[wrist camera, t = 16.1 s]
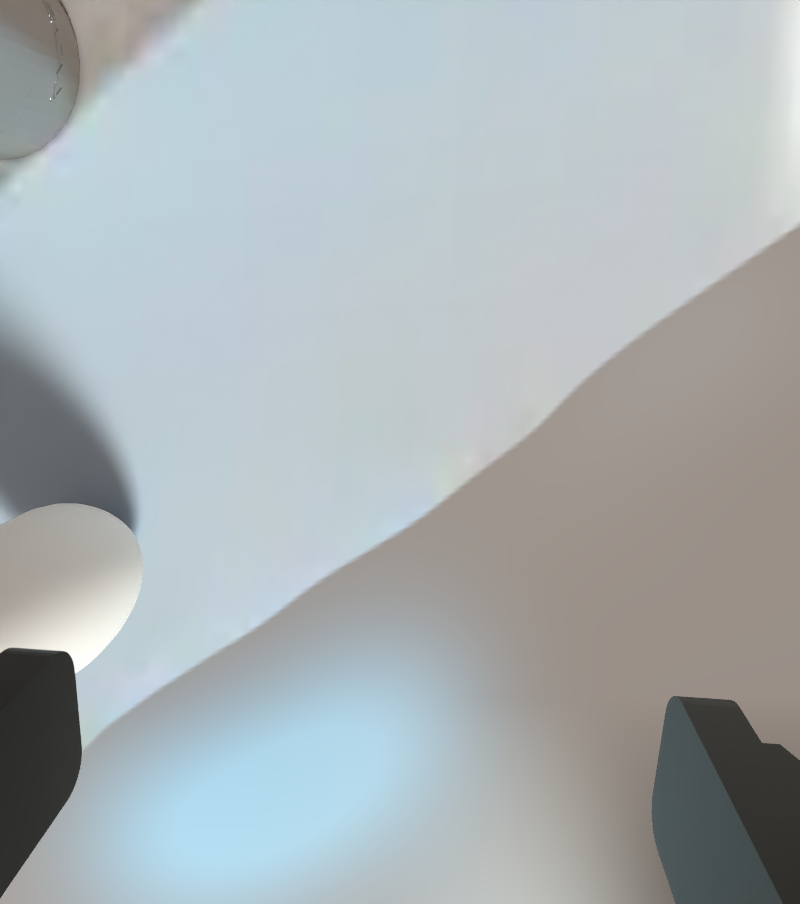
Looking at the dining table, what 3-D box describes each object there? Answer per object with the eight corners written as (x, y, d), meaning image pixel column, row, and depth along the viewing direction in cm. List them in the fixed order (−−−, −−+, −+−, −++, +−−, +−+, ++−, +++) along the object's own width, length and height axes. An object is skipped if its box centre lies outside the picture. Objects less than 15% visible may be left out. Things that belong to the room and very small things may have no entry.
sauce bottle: (197, 532, 42) (23, 733, 25) (126, 628, 44) (-81, 875, 27) (82, 450, 41) (-182, 598, 24) (14, 551, 43) (-274, 755, 26)
